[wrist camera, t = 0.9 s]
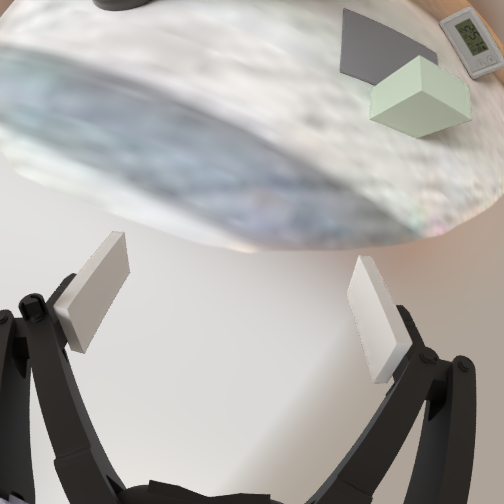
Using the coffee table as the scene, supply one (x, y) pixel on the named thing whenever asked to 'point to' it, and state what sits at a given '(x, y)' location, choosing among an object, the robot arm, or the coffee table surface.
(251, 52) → the coffee table surface
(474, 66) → the digital clock
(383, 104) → the sage block
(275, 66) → the coffee table surface
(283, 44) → the coffee table surface
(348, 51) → the felt pad
